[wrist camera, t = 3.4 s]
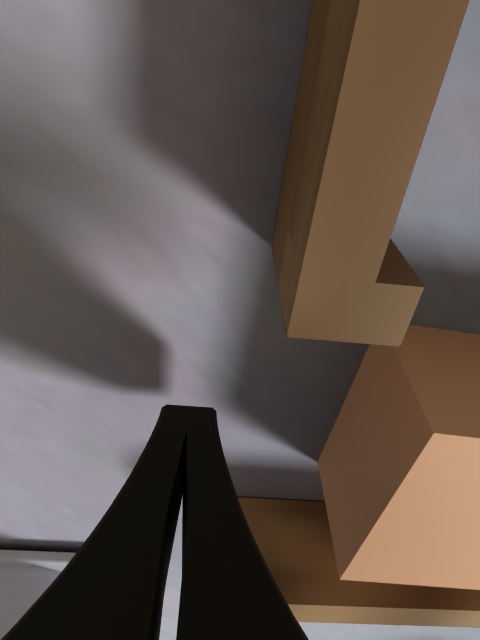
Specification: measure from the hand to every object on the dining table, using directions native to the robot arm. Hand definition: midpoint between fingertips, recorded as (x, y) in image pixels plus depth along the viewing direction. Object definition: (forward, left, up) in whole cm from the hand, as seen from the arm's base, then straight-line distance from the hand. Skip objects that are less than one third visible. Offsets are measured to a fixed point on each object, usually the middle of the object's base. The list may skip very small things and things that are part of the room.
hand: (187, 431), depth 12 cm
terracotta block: (+8, 0, -2) cm, 8 cm away
